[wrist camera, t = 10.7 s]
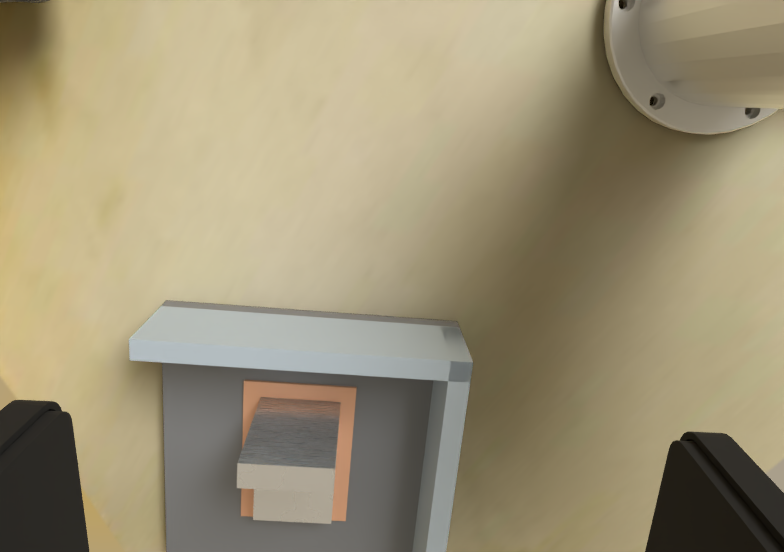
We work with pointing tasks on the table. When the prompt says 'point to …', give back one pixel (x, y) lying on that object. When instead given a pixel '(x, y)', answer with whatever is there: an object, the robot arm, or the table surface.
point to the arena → (309, 382)
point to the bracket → (291, 460)
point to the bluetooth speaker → (32, 0)
